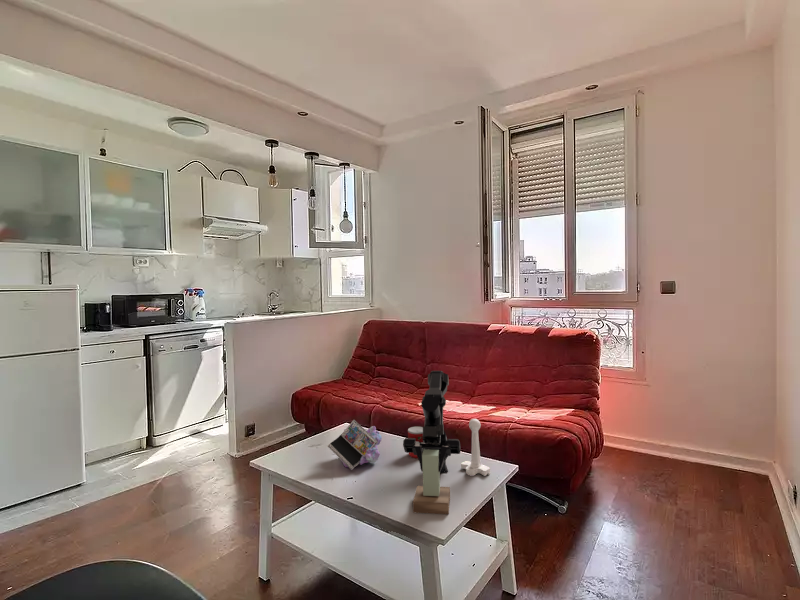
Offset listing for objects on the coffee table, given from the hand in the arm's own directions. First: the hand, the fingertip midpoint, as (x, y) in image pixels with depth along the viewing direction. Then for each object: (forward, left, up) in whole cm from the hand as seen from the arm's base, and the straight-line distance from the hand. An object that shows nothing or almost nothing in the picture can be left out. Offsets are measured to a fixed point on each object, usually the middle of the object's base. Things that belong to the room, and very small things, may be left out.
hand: (430, 471), depth 137 cm
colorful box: (-39, -27, -12) cm, 49 cm away
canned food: (-44, -2, -12) cm, 45 cm away
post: (-1, 0, -7) cm, 8 cm away
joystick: (-24, +18, -12) cm, 33 cm away
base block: (-1, 0, -11) cm, 12 cm away
